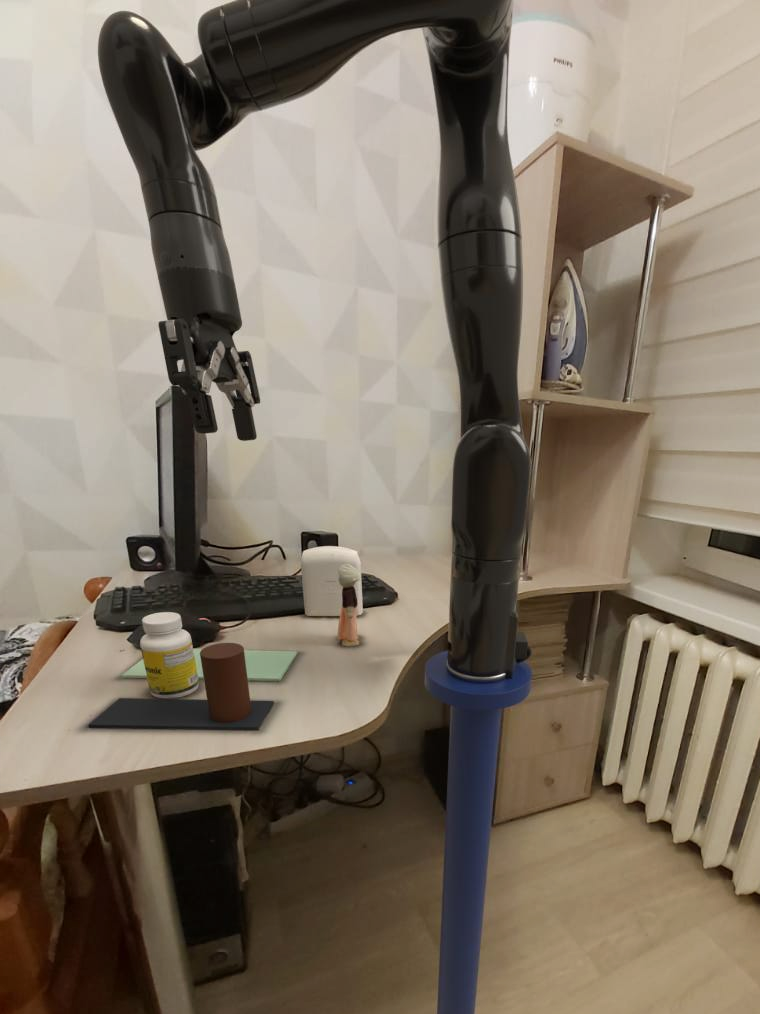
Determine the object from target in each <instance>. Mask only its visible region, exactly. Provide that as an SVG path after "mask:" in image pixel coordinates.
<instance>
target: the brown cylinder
mask: <svg viewBox="0 0 760 1014" xmlns="http://www.w3.org/2000/svg"><path fill="white" fill-rule="evenodd" d="M201 649H202V650H201V651H200V658H201V664H202V670H203V676H204V679H203V682H204V689H205V695H206V700H207V701H208V708H209V714H210V718H211V719H212V720H214V721H216V722H222V723H227V722H234V721H238V720H241V719H243V718H245V717H247V716H248V715H249V714H250V713H251V702H250V701H251V696H250V687H249V680H248V678H247V670H246V662H245V654H244V650H245V647H244V646H243V645H242V644H241V643H235V642H220V643H219V642H218V643H214V644H211V645H210V644H209V645H207V646H205V647H204V648H201Z"/></svg>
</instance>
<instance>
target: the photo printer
mask: <svg viewBox="0 0 760 1014" xmlns="http://www.w3.org/2000/svg"><path fill="white" fill-rule="evenodd" d="M300 558H301V559H300V568H301V569H300V571H301V583H302V595H303V605H304V614H305V615H306V616H307V617H340V613H341V609H342V589H343V586H341V585H340V583H339V574H338V569H339V568H340V566H342V565H344V564H348V565H351V566H353V567H354V568H356V569H357V571H358V573H359V574H360V576H361V578H360V580H359V581H356V583H355V585H354V586H353V587H354V588H355V591H356V597H357V604H358V605H357V616H361V615H362V614H363V613H364V608H363V586H362V585H363V584H362V564H361V559H360V557H359V553H358V551H357V550H354V549H351V548H348V547H343V546H336V545H324V546H316V547H311V548H308V549H305V550H303V551H302V554H301V557H300Z"/></svg>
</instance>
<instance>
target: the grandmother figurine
mask: <svg viewBox="0 0 760 1014" xmlns="http://www.w3.org/2000/svg"><path fill="white" fill-rule="evenodd" d="M338 574H339V583H340V585H341V586H343V589H342V609H341V613H340V616H339V619H338V626H337V639H338V640H342V641H341V645H342V646H343V647H356V646H359V645H360V641H359V638H360V637H359V635H358V625H357V605H358V604H357V597H356V591H355V588H354V587H353V586H354V585H355V583H356V581H359V580H360V578H361V579H362V575H361V576H360V574H359V573H358V571H357V569H356V568H354V567H353V566H351V565H348V564H344V565H342V566H340V568H339V569H338Z"/></svg>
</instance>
